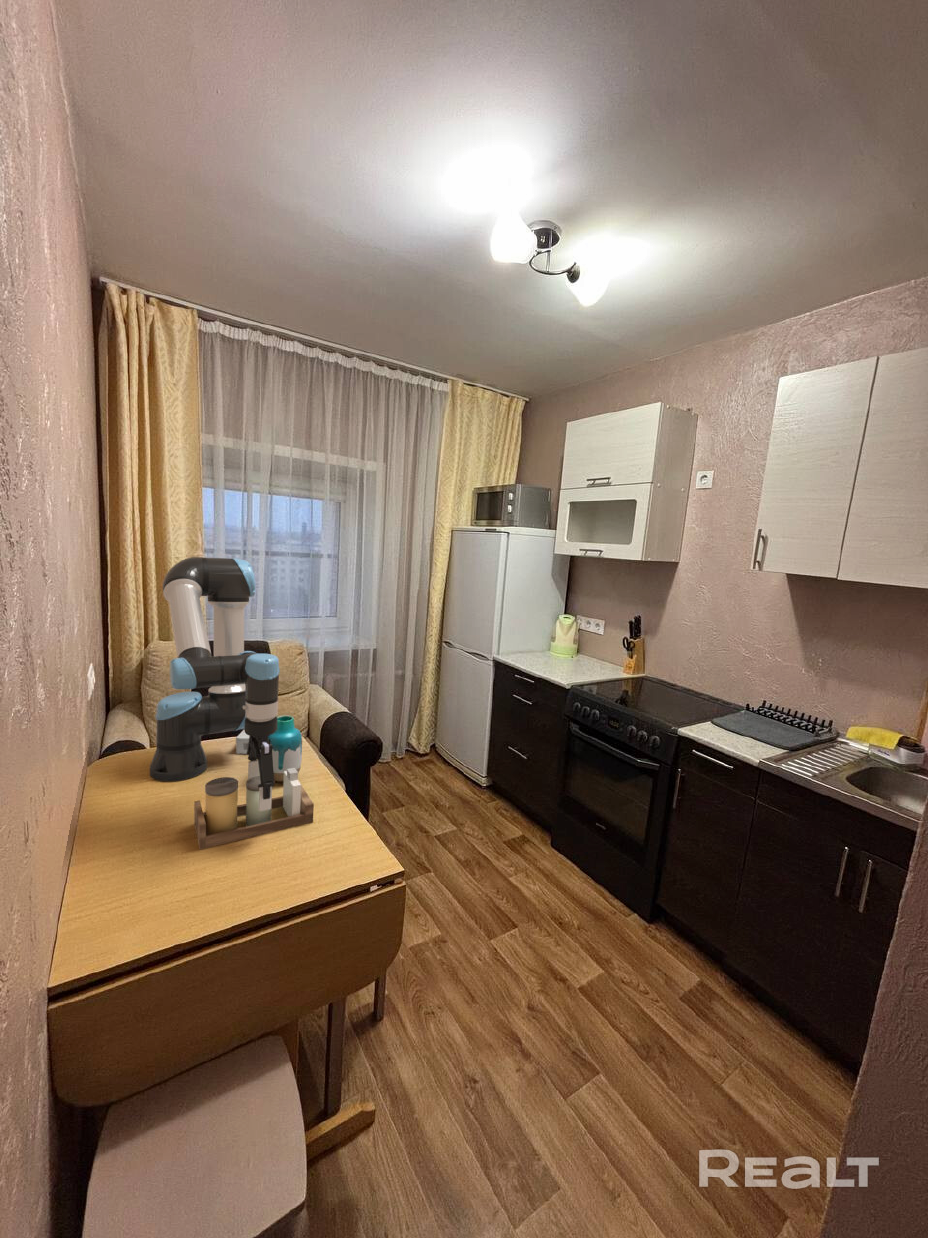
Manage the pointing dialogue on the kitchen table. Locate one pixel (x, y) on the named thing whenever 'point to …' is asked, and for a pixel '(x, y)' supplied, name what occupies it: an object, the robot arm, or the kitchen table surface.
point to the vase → (285, 747)
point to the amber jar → (221, 805)
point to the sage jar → (255, 804)
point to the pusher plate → (291, 792)
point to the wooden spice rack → (252, 830)
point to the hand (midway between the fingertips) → (259, 796)
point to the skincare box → (242, 743)
